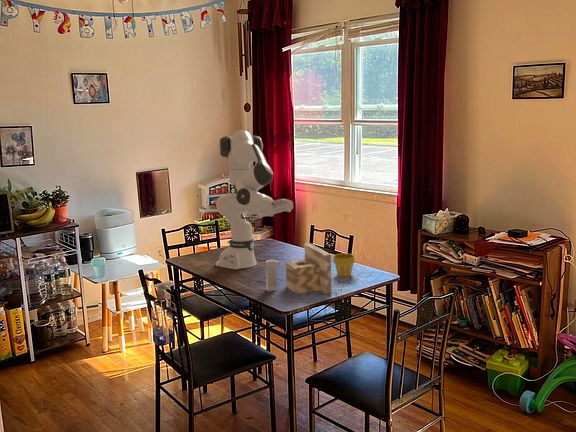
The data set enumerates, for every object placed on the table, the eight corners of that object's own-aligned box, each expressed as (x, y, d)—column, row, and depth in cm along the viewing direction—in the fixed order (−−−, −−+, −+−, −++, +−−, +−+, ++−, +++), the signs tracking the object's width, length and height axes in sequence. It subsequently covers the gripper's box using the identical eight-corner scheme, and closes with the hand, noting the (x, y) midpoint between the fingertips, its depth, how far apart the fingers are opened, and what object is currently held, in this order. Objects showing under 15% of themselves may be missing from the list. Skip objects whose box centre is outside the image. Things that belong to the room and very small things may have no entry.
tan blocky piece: (300, 298, 254) (299, 258, 250) (282, 283, 276) (280, 246, 273) (331, 293, 259) (330, 254, 256) (311, 278, 281) (310, 243, 278)
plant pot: (336, 278, 280) (336, 259, 278) (331, 272, 290) (331, 254, 288) (357, 277, 281) (356, 257, 279) (351, 271, 291) (351, 252, 289)
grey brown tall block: (268, 291, 264) (267, 262, 261) (266, 289, 267) (265, 260, 264) (280, 289, 266) (279, 260, 263) (278, 288, 269) (276, 259, 266)
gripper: (283, 193, 251) (299, 201, 262) (245, 203, 261) (262, 210, 273) (284, 206, 249) (300, 214, 261) (246, 216, 259) (263, 223, 271)
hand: (281, 212), depth 267 cm, fingers open, 8 cm apart
